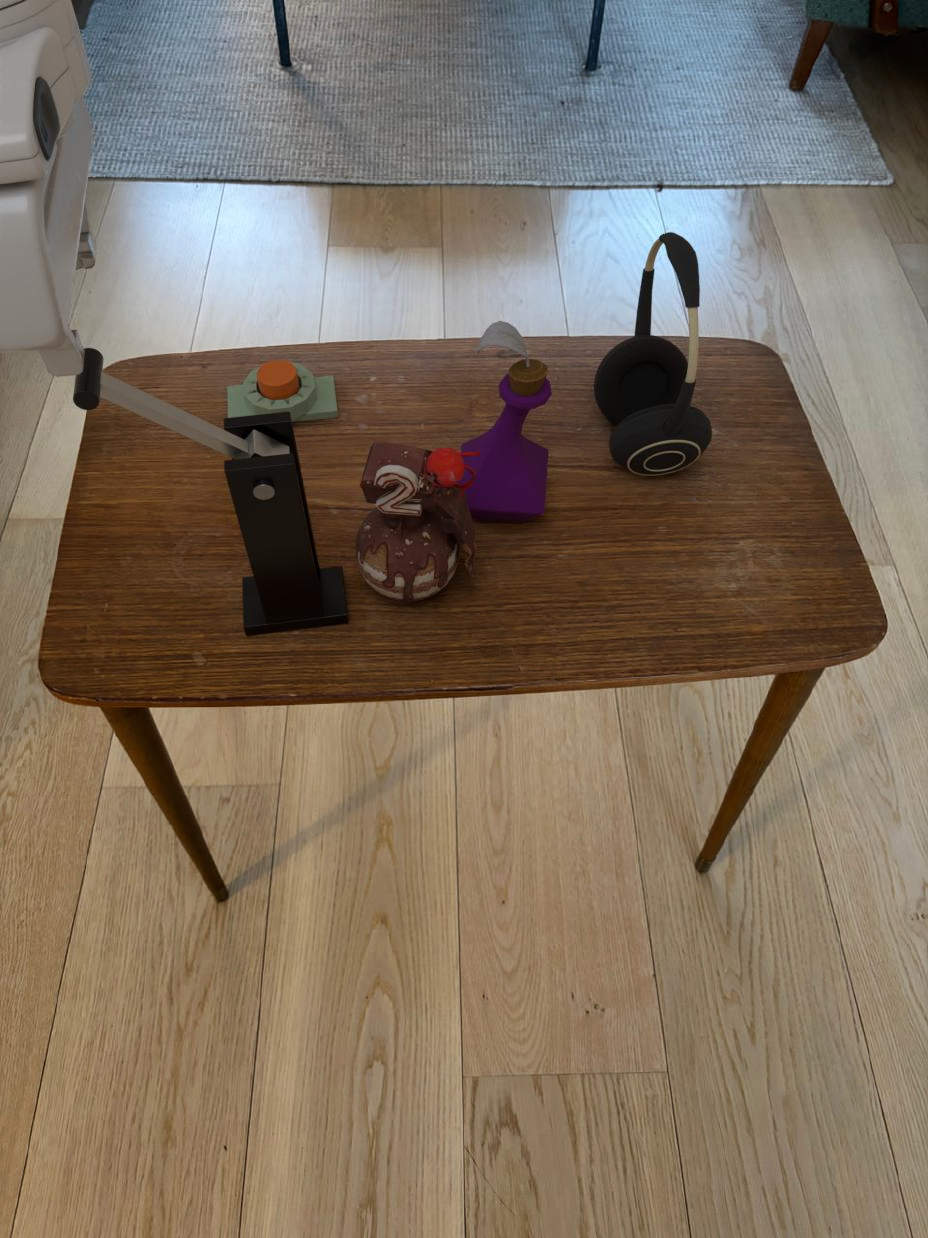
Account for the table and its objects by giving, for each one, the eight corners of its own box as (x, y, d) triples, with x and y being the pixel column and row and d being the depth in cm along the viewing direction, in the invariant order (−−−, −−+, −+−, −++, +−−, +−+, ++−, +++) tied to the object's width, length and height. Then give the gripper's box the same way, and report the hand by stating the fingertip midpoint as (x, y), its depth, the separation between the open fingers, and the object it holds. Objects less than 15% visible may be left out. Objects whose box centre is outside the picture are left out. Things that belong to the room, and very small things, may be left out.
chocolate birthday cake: (482, 549, 82) (484, 412, 70) (468, 628, 77) (469, 496, 65) (370, 537, 83) (353, 400, 71) (350, 615, 78) (329, 481, 66)
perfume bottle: (546, 475, 87) (562, 302, 72) (541, 540, 83) (557, 369, 68) (461, 470, 87) (460, 296, 73) (453, 533, 83) (449, 362, 68)
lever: (64, 408, 57) (83, 381, 56) (70, 364, 60) (88, 337, 58) (271, 500, 66) (291, 479, 65) (269, 458, 68) (289, 436, 67)
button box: (229, 434, 90) (224, 414, 88) (228, 387, 94) (223, 366, 92) (339, 423, 91) (336, 402, 89) (333, 377, 95) (331, 356, 93)
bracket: (246, 641, 76) (195, 479, 62) (244, 581, 80) (196, 415, 66) (349, 628, 77) (322, 466, 63) (343, 569, 81) (316, 403, 66)
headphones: (671, 388, 94) (713, 190, 78) (711, 502, 85) (768, 305, 69) (582, 395, 93) (606, 197, 77) (613, 510, 84) (647, 314, 68)
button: (260, 402, 89) (257, 387, 88) (259, 376, 92) (256, 361, 90) (300, 398, 90) (297, 383, 88) (298, 372, 92) (295, 357, 90)
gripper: (-58, -44, 49) (37, 212, 61) (-143, 175, 37) (-6, 443, 49) (71, -50, 50) (141, 204, 61) (28, 163, 38) (124, 430, 49)
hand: (76, 312), depth 55 cm, fingers open, 8 cm apart
